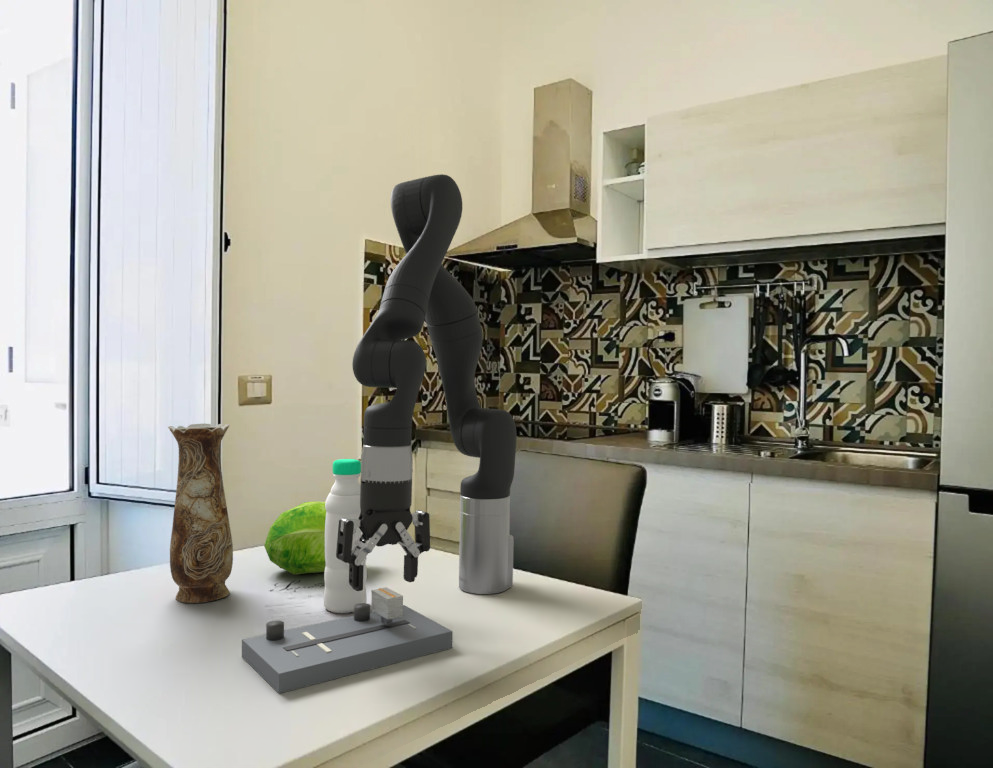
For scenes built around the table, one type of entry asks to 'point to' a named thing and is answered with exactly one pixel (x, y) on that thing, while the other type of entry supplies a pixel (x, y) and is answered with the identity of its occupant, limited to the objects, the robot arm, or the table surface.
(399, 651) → the console
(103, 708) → the table surface
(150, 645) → the table surface
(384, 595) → the fader
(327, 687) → the table surface
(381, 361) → the robot arm
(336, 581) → the water bottle
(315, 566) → the lettuce
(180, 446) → the vase
